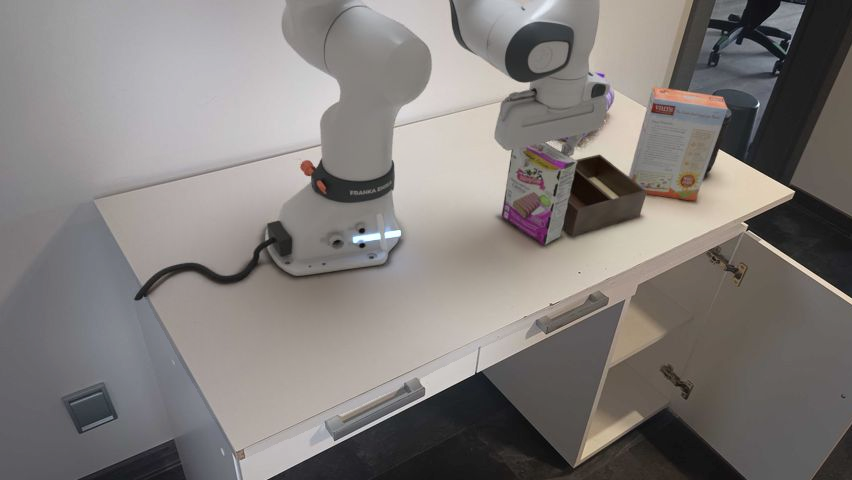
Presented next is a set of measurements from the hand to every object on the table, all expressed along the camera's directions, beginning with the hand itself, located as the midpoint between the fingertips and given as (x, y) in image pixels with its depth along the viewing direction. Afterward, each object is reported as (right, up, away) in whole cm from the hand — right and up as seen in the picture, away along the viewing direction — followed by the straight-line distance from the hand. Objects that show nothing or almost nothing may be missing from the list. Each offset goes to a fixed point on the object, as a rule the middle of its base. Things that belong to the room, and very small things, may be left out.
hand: (544, 160), depth 118 cm
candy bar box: (-2, -11, +9) cm, 15 cm away
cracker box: (+26, -2, +25) cm, 36 cm away
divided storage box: (+9, -6, +17) cm, 20 cm away
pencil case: (+11, +16, +43) cm, 47 cm away
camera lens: (+34, +3, +33) cm, 48 cm away
